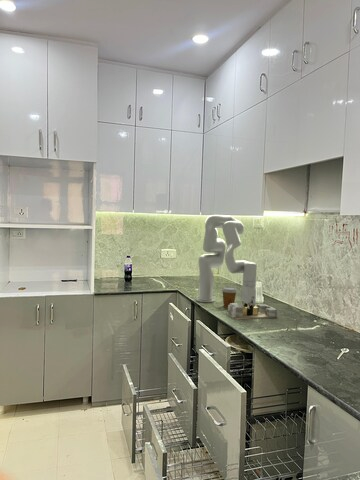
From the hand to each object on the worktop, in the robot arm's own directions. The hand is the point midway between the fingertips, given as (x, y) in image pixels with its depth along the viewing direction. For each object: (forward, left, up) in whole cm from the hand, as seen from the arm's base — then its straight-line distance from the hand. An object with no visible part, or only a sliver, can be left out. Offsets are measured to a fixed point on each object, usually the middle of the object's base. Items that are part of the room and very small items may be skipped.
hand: (247, 314), depth 215 cm
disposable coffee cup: (-21, -2, -1) cm, 21 cm away
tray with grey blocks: (0, +2, -1) cm, 2 cm away
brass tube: (0, -2, 0) cm, 2 cm away
